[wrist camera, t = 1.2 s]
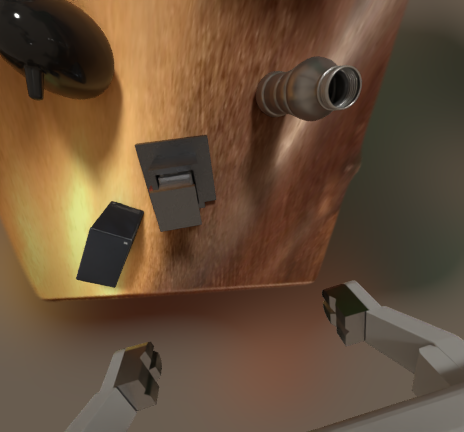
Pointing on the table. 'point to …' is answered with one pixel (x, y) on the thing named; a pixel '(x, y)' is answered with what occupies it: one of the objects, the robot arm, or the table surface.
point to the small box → (109, 244)
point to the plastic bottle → (309, 89)
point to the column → (176, 201)
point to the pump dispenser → (55, 48)
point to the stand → (179, 163)
